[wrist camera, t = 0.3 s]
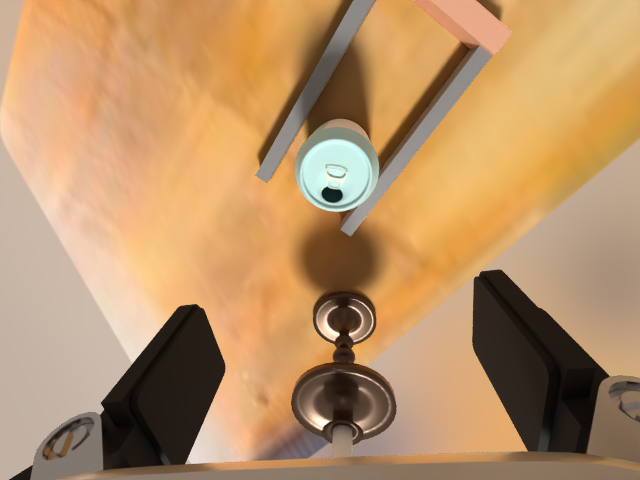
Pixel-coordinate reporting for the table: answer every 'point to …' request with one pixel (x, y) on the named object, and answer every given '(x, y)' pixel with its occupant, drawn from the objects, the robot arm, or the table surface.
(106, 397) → the robot arm
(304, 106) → the track
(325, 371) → the candlestick
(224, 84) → the table surface
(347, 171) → the can
